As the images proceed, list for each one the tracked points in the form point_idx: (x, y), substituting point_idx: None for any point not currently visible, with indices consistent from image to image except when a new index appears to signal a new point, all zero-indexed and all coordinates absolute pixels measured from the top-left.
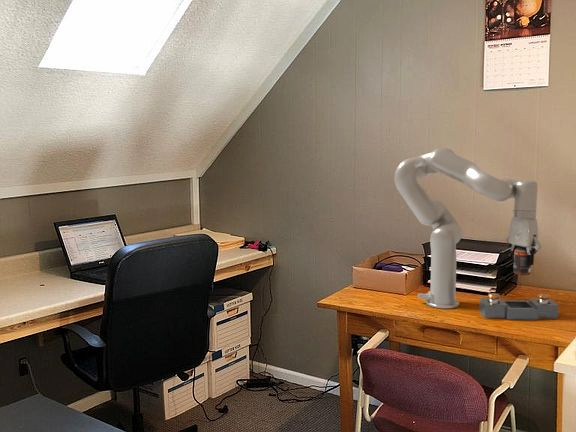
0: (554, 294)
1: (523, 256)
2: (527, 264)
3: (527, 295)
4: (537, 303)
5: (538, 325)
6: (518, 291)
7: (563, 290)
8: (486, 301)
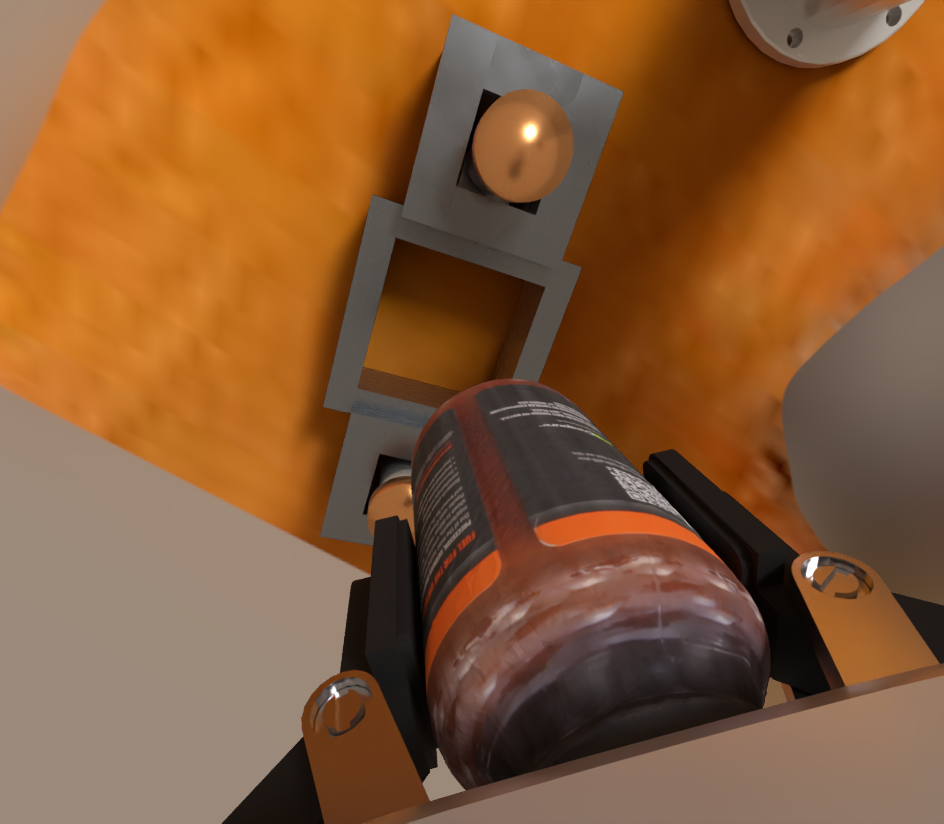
0: None
1: (441, 581)
2: (376, 535)
3: None
4: (387, 442)
5: (234, 326)
6: None
7: None
8: None
